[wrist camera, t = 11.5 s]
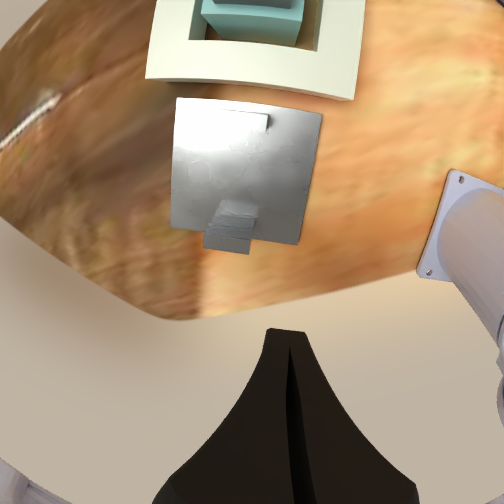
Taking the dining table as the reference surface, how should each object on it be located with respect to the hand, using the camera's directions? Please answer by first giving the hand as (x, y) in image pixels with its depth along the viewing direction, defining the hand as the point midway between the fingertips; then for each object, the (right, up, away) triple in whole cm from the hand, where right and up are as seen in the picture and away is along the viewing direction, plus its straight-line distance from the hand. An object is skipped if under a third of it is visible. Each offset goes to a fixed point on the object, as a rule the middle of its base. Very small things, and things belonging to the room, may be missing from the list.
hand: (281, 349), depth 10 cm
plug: (-1, +17, +2) cm, 17 cm away
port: (-1, +17, +2) cm, 17 cm away
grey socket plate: (-2, +8, +6) cm, 11 cm away
